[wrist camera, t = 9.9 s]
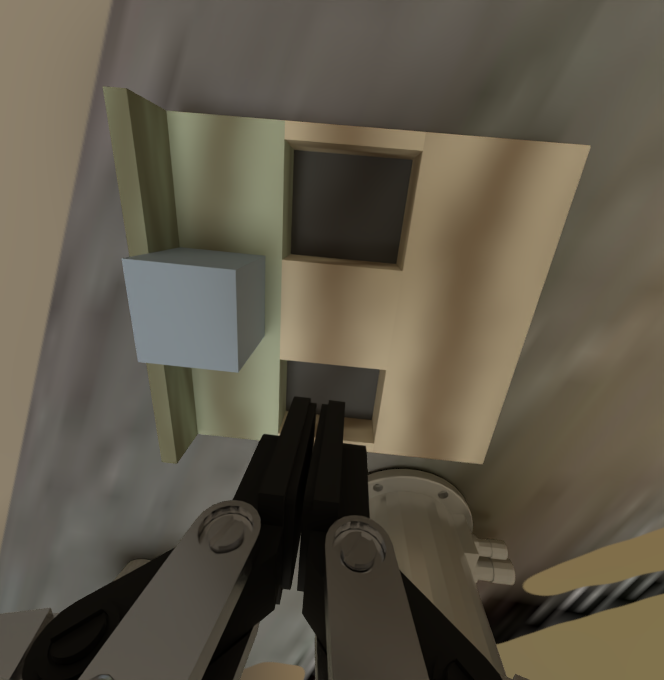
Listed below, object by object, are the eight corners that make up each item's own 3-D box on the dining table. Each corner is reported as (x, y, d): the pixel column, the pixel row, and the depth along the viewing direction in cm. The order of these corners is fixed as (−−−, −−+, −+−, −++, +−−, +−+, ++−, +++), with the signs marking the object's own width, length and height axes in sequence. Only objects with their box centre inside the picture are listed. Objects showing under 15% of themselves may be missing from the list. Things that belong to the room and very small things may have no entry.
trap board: (554, 156, 18) (644, 130, 12) (468, 436, 25) (501, 498, 20) (177, 125, 18) (102, 86, 13) (202, 409, 26) (161, 462, 20)
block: (265, 255, 18) (235, 269, 13) (264, 335, 20) (238, 372, 15) (180, 247, 18) (121, 258, 14) (187, 327, 20) (138, 361, 15)
